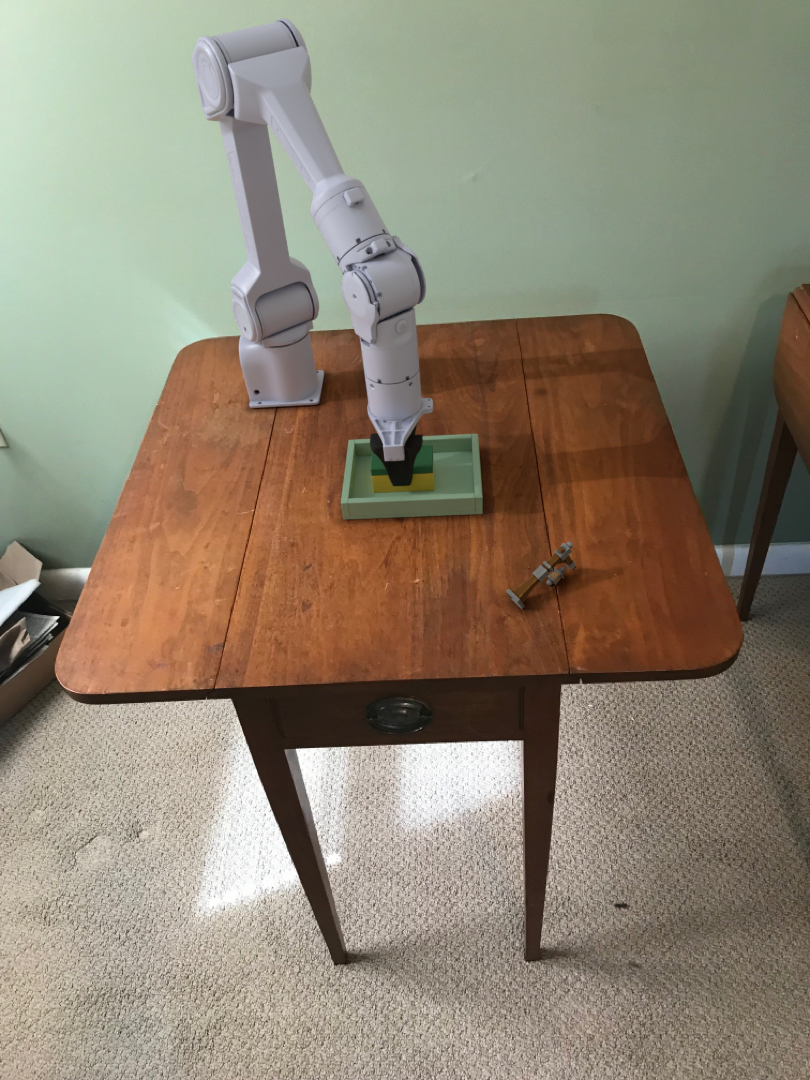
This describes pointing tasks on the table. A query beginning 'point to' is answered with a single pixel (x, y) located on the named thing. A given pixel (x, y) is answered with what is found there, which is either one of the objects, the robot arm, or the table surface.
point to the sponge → (421, 473)
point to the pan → (450, 495)
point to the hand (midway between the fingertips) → (402, 471)
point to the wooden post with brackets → (544, 573)
